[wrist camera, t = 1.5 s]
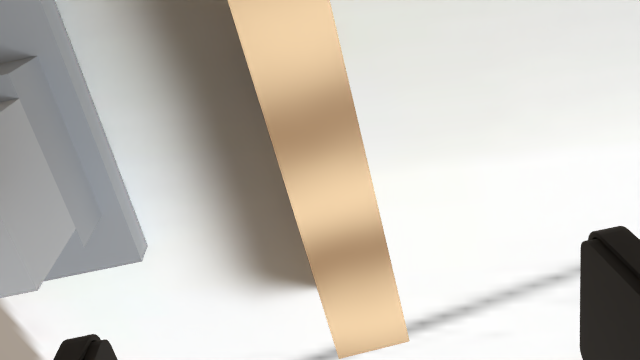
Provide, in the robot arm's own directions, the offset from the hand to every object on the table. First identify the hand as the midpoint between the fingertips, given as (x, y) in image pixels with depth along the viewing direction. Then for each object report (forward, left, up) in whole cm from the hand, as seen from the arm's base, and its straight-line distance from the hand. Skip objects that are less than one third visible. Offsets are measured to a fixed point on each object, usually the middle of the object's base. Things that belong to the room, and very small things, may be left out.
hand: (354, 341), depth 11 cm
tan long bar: (0, 0, -18) cm, 18 cm away
